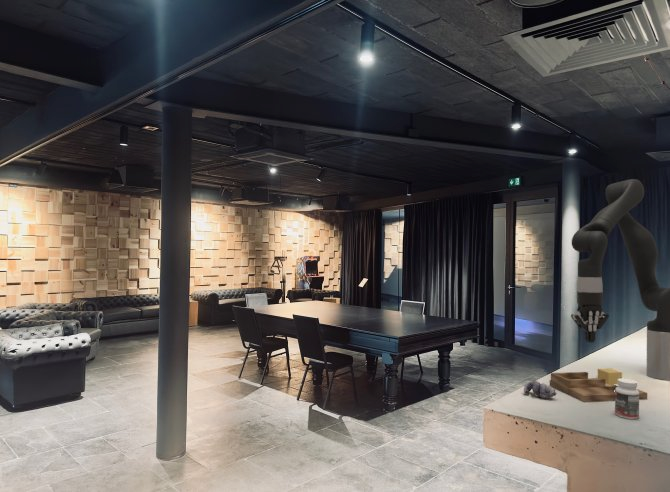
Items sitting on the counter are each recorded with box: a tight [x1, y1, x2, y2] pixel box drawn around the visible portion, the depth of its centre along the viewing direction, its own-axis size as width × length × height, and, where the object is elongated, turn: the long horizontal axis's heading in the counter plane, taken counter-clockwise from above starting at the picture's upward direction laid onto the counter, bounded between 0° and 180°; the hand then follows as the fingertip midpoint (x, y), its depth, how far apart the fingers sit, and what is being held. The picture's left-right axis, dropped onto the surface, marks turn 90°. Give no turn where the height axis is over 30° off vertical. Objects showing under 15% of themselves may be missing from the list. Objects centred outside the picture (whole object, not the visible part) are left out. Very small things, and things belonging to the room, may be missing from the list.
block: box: [597, 368, 623, 385], centre depth 154 cm, size 5×5×4 cm
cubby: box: [550, 371, 605, 388], centre depth 152 cm, size 14×9×2 cm, turn 99°
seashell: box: [523, 380, 558, 400], centre depth 144 cm, size 5×5×10 cm
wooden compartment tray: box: [549, 377, 648, 403], centre depth 150 cm, size 22×17×2 cm
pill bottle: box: [614, 377, 640, 420], centre depth 128 cm, size 6×6×10 cm
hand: (590, 342), depth 153 cm, fingers closed
